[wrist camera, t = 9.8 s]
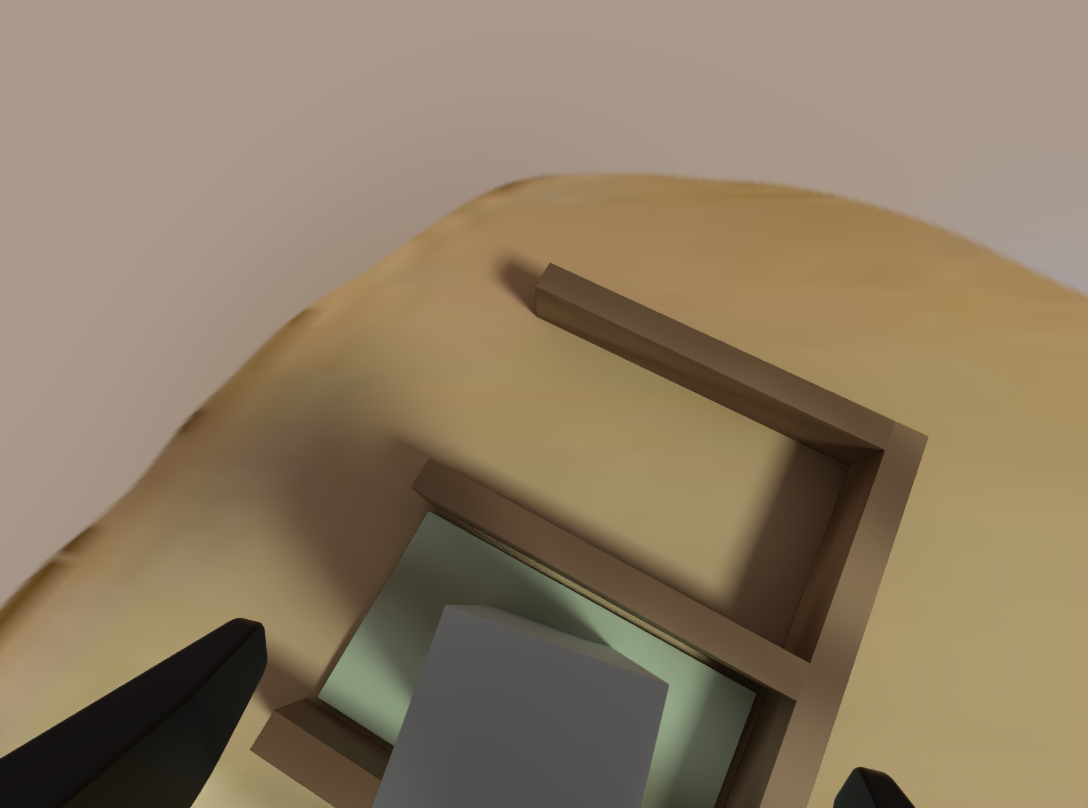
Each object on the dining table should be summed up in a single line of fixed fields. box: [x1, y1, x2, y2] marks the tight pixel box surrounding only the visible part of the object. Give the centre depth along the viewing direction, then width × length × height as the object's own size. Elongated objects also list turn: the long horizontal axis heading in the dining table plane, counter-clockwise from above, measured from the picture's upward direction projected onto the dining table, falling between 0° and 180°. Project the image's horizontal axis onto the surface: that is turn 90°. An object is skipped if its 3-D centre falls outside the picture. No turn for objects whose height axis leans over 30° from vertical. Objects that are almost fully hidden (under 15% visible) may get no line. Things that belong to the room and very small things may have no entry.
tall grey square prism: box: [372, 605, 669, 808], centre depth 15 cm, size 4×4×10 cm
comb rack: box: [250, 263, 928, 808], centre depth 20 cm, size 19×15×2 cm
